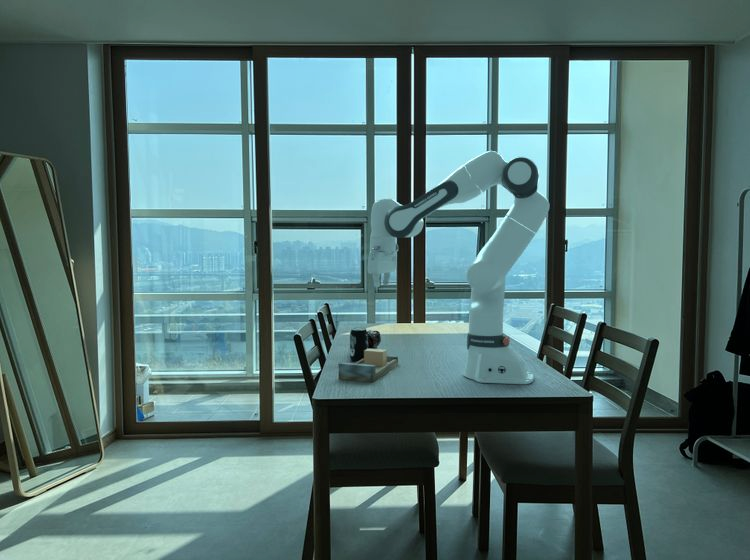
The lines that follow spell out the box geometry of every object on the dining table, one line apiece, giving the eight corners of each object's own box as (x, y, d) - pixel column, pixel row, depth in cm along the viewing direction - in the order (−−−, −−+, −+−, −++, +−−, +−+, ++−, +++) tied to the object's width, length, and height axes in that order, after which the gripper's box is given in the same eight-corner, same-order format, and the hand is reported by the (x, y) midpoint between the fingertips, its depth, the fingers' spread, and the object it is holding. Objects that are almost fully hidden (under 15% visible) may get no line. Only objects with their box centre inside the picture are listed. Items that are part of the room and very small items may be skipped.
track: (398, 364, 188) (398, 350, 188) (373, 382, 164) (373, 366, 163) (367, 361, 192) (367, 348, 192) (338, 378, 168) (338, 363, 167)
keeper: (386, 363, 184) (386, 349, 183) (382, 366, 180) (382, 352, 180) (368, 362, 186) (368, 348, 186) (364, 364, 182) (364, 350, 182)
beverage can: (365, 362, 191) (365, 330, 190) (348, 361, 193) (348, 329, 192) (369, 358, 198) (369, 327, 197) (352, 358, 199) (352, 327, 198)
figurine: (373, 357, 216) (360, 367, 199) (356, 339, 218) (341, 348, 201) (389, 341, 214) (377, 350, 197) (371, 323, 215) (358, 331, 198)
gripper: (381, 246, 169) (380, 288, 170) (399, 246, 188) (398, 284, 189) (363, 245, 171) (362, 287, 172) (383, 245, 190) (382, 283, 191)
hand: (381, 285), depth 181 cm, fingers open, 8 cm apart
